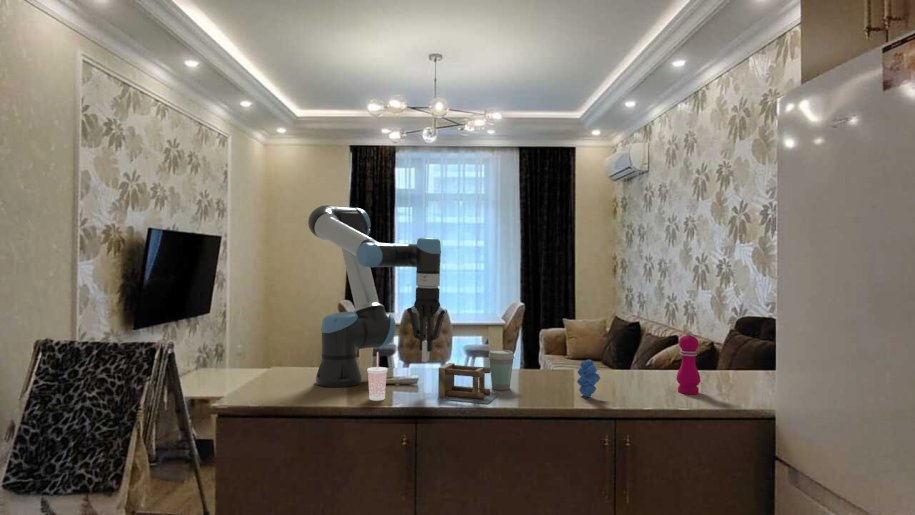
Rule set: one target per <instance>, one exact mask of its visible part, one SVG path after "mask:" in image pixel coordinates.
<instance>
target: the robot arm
mask: <svg viewBox="0 0 915 515" xmlns="http://www.w3.org/2000/svg"><path fill="white" fill-rule="evenodd" d="M307 221H308V225H307V227H308V228H309V231H310V232H311V233H312V234H313V235H314V236H315V237H317V238H319V239H321V240H323V241H327V240H328V241H329V242H331V243H333V244H334V245H336V246H337V247H339V248H340V249H341V251H342V257H343V260H344V261H343V262H344V264H345V269H346V274H347V277H348V282H349V286H350V287H349V288H350V290H351V295H352V299H353V303H354V307H355V308H354V310H353V311H343V312H342V311H341V312H335V313H330V314H327V315H325V316H324V317H323V319H322V322H321V328H320V330H321V361H320V363H319V366H318V370H317V373H316V376H315V384H316V385H318V386H320V387H325V388H326V387H328V388H344V387H346V388H347V387H352V386H353V387H354V386H358V385H360V384H362V381H363V380H362V373H361V370H360V366H359V363H358V357H357V356H358V355H357V352H358V350H362V349H364V350H365V349H372V348H378V349H379V348H381V347H384V346H385V347H386V346H388V345H389V344H391V342H392V341H393V340H394V337H395V335H396V330H397V329H396V328H397V327H396V326H397V324H396V320H395V317H394V316H393V315H392V314H391V313H388V312H386V309H385V305H383V304H381V303H380V300H379V297H378V293H377V289H376V286H375V282H374V281H375V280H374V277H373V273H372V269H371V268H384V267H385V268H389V267H391V268H392V267H393V268H394V267H395V268H396V267H397V268H401V267H404V268H408V267H409V268H412V267H413V268H416V270H415V273H416V275H415V285H416V287H415V301H414V303H413V305H412V306H411V307H408V308H407V309H406V311H407V313H408V315H409V317H410V323H411V326H412V327H411V328H412V332H413V337H414V339H417V340H419V351H420V352H421V362H422V363H428V362H429V361H430V353H431V352H432V351H433V341H434V340H438V339H439V338H440V332H441V329H442V325H443V322H444V317H445V316H446V315H447V313H448V310H447V309H444V308H443V307H441V303H440V290H441V289H440V288H439V287H440V285H441V284H440V283H441V282H440V281H441V255H442V247H441V246H442V245H441V240H440V239H439V238H435V237H434V238H430V237H420V238H418V239H417V241H416V244H415V243H407V242H406V243H402V242H401V243H392V242H391V243H390V242H388V243H386V242H379V241H377V240H375V239H374V238H372V237H371V236H370V237H369V234H370V233H371V226H372V225H371V219H370V217H369V215H368V213H367V212H366V210H364V209H362V208H359V207H355V206H341V205H339V206H337V205H331V204H330V205H328V204H325V205H321V206H318V207H316V208H315V209H314V210H313V211H311V213H310V214H309V217H308V220H307ZM417 312H418V315H419V317H418V315H417ZM436 314H438V316H437V318H436V322H435V325H434V320H435V315H436ZM418 318H419V319H418ZM418 320H419V321H418Z"/></svg>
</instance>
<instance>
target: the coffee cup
mask: <svg viewBox="0 0 915 515" xmlns="http://www.w3.org/2000/svg"><path fill="white" fill-rule="evenodd" d="M487 358H488V360H489V361H488V362H489V368H490V379H491V388H492V389H493V390H497V391H506V390H509V389H510V388H511V382H512V381H511V380H512V375H513V374H512V372H513V365H514V359H515V355H514V351H512V350H508V349H493V350H490V351H489V354H488V357H487Z"/></svg>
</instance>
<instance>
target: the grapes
mask: <svg viewBox="0 0 915 515" xmlns="http://www.w3.org/2000/svg"><path fill="white" fill-rule="evenodd" d="M579 366H580V368H579V369H578V370H577V374H578V375H579V376H580V377H578V379H577V381H576V382H577V384H578V385H579V389H578V391H579V392H580V394H581V395H583V396H584V397H585V398H587V397H588V398H591V396H592V395H593V394H594V393H595V392H596V390H597V387H596V386H595V385H596V384H597V383H598V382H600V380H601V376H600V374H598V373H597V372H598V369H597V367H596V366H595V364H594V362H593V360H592V359H585V360H583V361H581V363H580V364H579Z"/></svg>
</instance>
